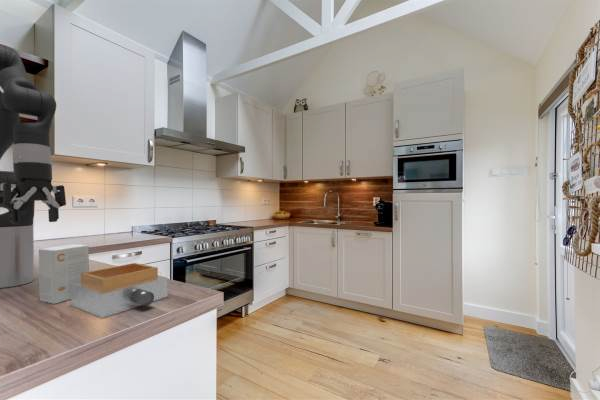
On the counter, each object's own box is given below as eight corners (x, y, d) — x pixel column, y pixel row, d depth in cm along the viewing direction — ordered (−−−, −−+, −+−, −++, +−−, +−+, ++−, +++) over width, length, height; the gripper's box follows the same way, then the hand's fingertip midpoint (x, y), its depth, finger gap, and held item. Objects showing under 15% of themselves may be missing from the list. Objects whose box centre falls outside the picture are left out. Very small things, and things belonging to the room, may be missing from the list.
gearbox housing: (70, 304, 67) (70, 273, 67) (134, 287, 80) (134, 261, 80) (111, 322, 57) (111, 285, 57) (177, 299, 70) (177, 269, 70)
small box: (74, 291, 77) (74, 243, 77) (89, 294, 75) (89, 244, 75) (38, 301, 70) (37, 248, 70) (53, 304, 67) (53, 250, 67)
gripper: (51, 167, 84) (54, 221, 83) (-12, 160, 70) (-9, 226, 70) (71, 164, 82) (73, 220, 82) (10, 157, 68) (12, 224, 68)
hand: (35, 223), depth 76 cm, fingers open, 8 cm apart
